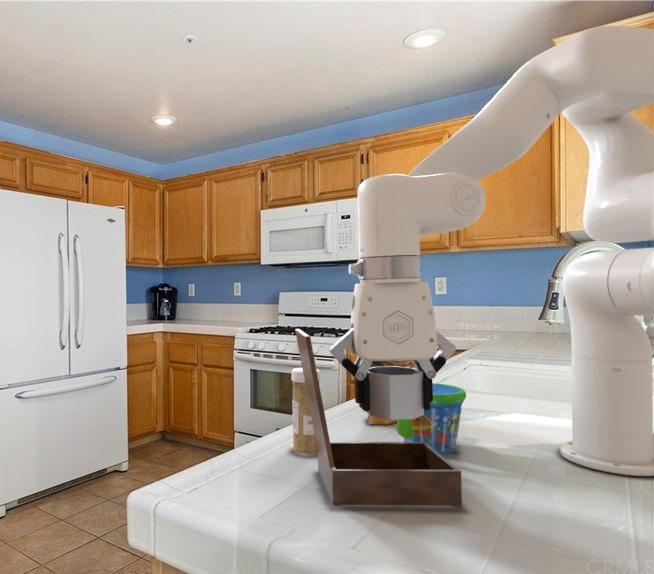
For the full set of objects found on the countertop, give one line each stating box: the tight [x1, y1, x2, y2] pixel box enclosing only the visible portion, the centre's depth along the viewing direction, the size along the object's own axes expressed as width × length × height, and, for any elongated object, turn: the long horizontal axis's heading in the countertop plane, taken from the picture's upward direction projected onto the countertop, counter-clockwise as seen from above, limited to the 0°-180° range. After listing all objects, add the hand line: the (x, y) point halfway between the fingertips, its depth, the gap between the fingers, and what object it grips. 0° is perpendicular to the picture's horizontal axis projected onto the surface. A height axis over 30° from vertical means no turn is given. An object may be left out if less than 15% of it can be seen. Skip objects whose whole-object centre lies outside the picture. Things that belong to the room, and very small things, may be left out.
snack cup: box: [396, 382, 467, 456], centre depth 80 cm, size 16×10×10 cm
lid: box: [294, 328, 335, 468], centre depth 64 cm, size 16×11×1 cm
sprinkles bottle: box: [291, 367, 321, 455], centre depth 79 cm, size 5×5×14 cm
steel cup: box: [365, 366, 424, 420], centre depth 64 cm, size 7×7×6 cm
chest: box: [317, 441, 463, 507], centre depth 64 cm, size 15×11×5 cm
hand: (393, 407), depth 64 cm, fingers closed on steel cup, 6 cm apart
